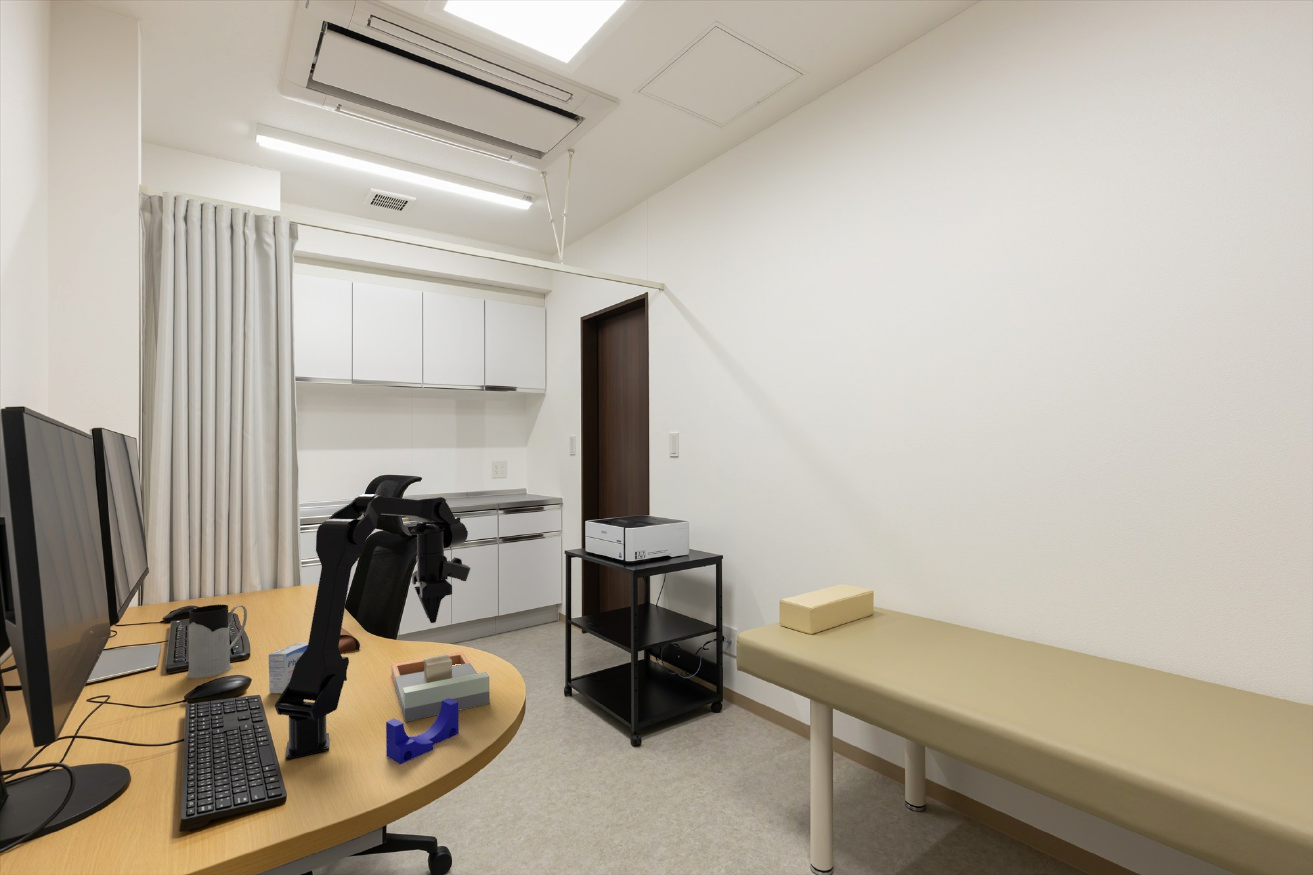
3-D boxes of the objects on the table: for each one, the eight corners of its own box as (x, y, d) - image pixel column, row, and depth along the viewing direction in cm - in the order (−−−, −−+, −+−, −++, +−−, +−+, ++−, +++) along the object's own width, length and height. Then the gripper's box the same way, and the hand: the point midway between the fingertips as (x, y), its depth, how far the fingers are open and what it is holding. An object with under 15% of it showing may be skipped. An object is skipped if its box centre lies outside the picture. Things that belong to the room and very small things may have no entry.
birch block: (452, 679, 130) (451, 660, 130) (427, 684, 127) (427, 665, 127) (448, 672, 134) (447, 654, 134) (424, 676, 132) (423, 658, 132)
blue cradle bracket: (400, 765, 100) (399, 728, 100) (386, 757, 103) (386, 721, 103) (463, 737, 109) (463, 703, 109) (449, 730, 112) (449, 697, 112)
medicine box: (286, 695, 129) (285, 654, 130) (268, 693, 130) (267, 653, 130) (313, 680, 137) (313, 642, 137) (297, 679, 138) (296, 641, 138)
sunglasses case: (307, 641, 166) (320, 617, 168) (331, 648, 170) (344, 625, 172) (325, 657, 153) (339, 631, 155) (351, 665, 157) (364, 640, 159)
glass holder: (176, 676, 141) (176, 612, 142) (232, 656, 155) (232, 597, 155) (206, 679, 139) (206, 614, 139) (260, 658, 153) (259, 598, 153)
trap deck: (489, 703, 123) (489, 676, 123) (405, 721, 115) (404, 693, 115) (462, 661, 147) (462, 639, 148) (391, 674, 140) (391, 650, 140)
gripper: (475, 554, 134) (476, 624, 133) (459, 543, 150) (460, 606, 150) (421, 559, 128) (423, 633, 128) (411, 547, 145) (412, 612, 144)
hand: (431, 620), depth 138 cm, fingers open, 4 cm apart
